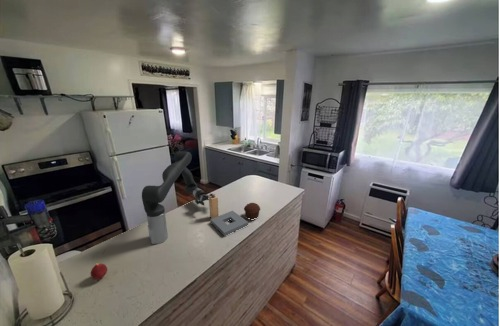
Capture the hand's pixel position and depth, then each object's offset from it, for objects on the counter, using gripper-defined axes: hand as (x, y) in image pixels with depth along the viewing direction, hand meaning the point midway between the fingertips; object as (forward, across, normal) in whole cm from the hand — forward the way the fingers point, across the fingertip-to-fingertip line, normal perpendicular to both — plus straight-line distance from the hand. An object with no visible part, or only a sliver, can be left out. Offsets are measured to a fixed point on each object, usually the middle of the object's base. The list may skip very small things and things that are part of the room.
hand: (209, 202), depth 136 cm
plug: (+6, 0, +10) cm, 11 cm away
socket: (+19, +4, +10) cm, 22 cm away
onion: (+18, -64, +10) cm, 67 cm away
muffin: (+21, +22, +10) cm, 32 cm away
